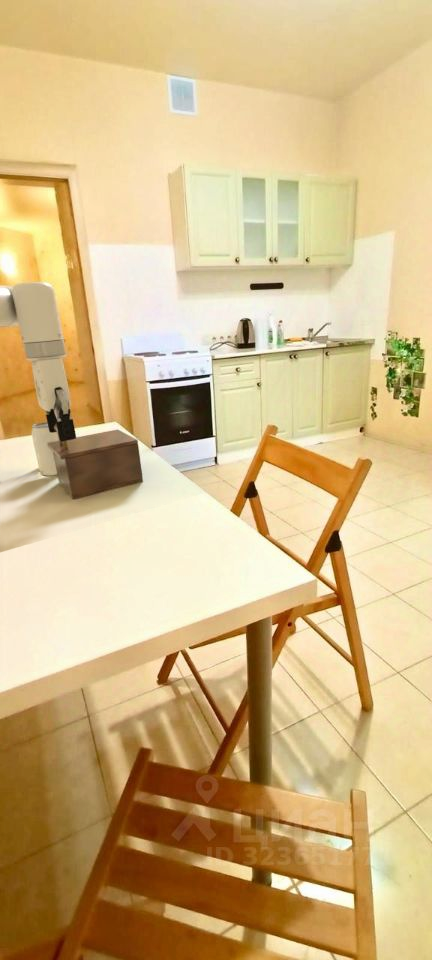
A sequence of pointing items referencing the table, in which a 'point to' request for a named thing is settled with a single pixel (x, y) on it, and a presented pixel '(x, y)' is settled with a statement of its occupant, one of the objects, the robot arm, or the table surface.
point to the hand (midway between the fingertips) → (62, 435)
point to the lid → (90, 443)
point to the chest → (99, 471)
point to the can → (44, 448)
